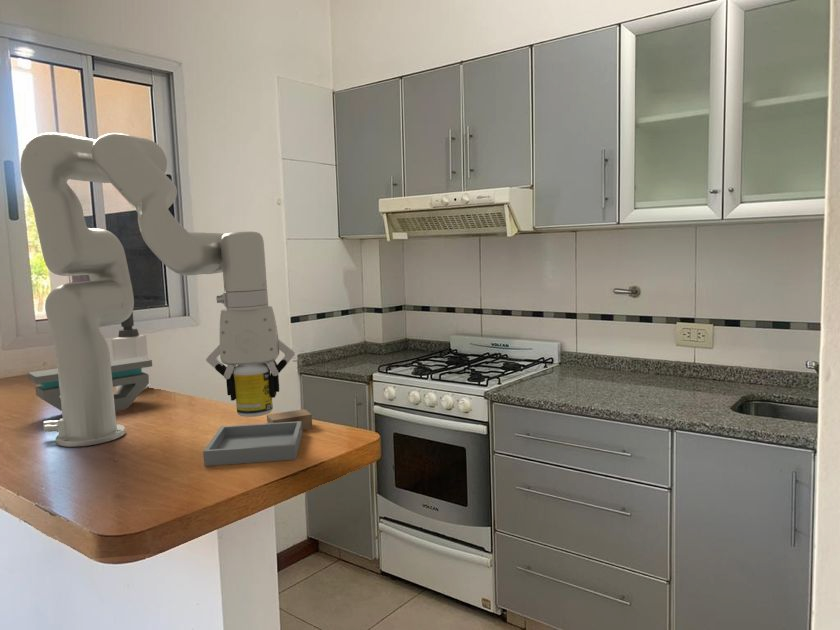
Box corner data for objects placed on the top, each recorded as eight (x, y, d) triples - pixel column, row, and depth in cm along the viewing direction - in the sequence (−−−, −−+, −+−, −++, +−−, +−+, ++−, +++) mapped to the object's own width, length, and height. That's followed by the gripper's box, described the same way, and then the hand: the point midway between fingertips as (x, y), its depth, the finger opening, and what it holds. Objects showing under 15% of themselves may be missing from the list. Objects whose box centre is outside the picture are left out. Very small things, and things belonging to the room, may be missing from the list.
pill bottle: (263, 418, 115) (259, 353, 114) (230, 417, 116) (225, 354, 115) (278, 408, 121) (274, 347, 120) (247, 408, 123) (242, 348, 121)
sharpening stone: (40, 425, 143) (35, 377, 141) (33, 419, 148) (28, 372, 147) (155, 403, 159) (151, 360, 158) (144, 398, 165) (140, 356, 164)
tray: (204, 466, 111) (203, 451, 111) (221, 439, 127) (221, 426, 126) (295, 459, 113) (294, 445, 112) (302, 433, 128) (301, 421, 128)
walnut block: (273, 435, 128) (272, 420, 128) (267, 429, 133) (266, 414, 132) (312, 428, 132) (311, 414, 131) (305, 423, 136) (304, 409, 136)
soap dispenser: (111, 394, 171) (104, 312, 169) (127, 387, 180) (120, 308, 178) (136, 393, 171) (128, 311, 169) (150, 386, 180) (143, 307, 178)
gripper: (192, 305, 112) (201, 405, 114) (293, 299, 114) (300, 398, 116) (202, 301, 119) (210, 396, 121) (296, 296, 121) (303, 389, 123)
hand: (254, 396), depth 119 cm, fingers closed on pill bottle, 6 cm apart
